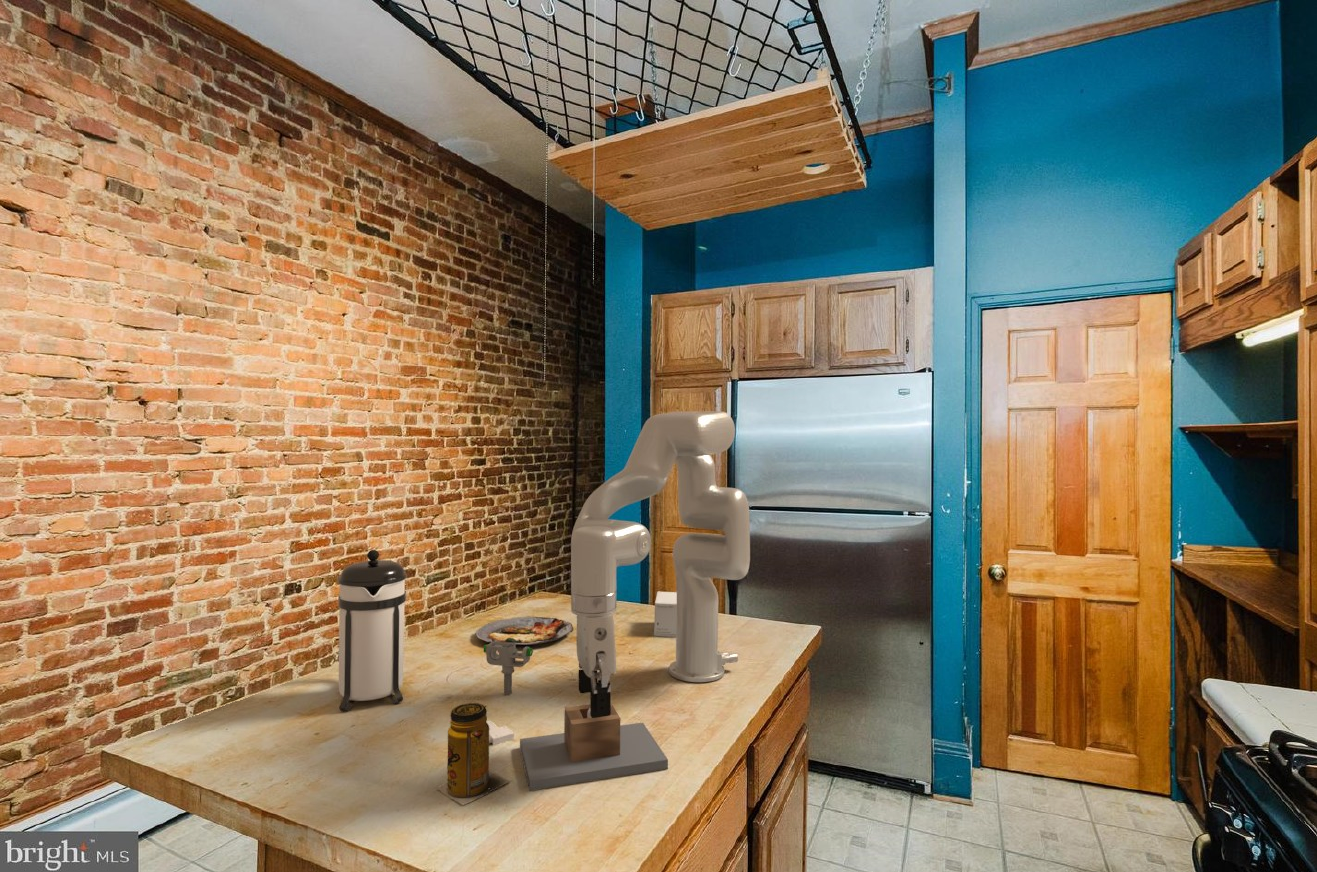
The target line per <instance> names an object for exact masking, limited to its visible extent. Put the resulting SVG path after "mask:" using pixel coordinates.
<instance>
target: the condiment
mask: <svg viewBox="0 0 1317 872" xmlns="http://www.w3.org/2000/svg"><path fill="white" fill-rule="evenodd" d="M487 712H488V710H487V708H486V706H485V705H484V704H482V703H478V702H467V703H462V704H459V705H457V706H455V707H454V708H453V709H451V711H450V723H449V725H450V726H449V728H448V730H447V766H446V767H447V768H446V769H447V771H446V772H447V774H446V775H447V777H446V778H447V779H446V780H447V782H445V783H443V784H442V785H439V786H436V787H435V788H436V789H437V790H439V791H440V792H441V793H443V794H444V795H445V796H446V797H448V798H450V799H452V800H453V801H455V802H456V803H458V804H460V805H462V806H464V805H466V804H469V803H471V802H473V801H475V800H477V799H479V798H480V799H481V798H482V797H483V796H486V795H487V794H489V793H490V792H492V791H494V790H497V789H499V788H501V787H503V786H504V785H506V784H508V783H509V782H511V780H510V779H506V778H505V777H503V776H501V775H499V774H497V773H495V772H494V771H492V770H491V769H490V767H489V766H490V743H489V725H488V724H487V722H486V721H488V720H487V719H488V717H487Z"/></svg>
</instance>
